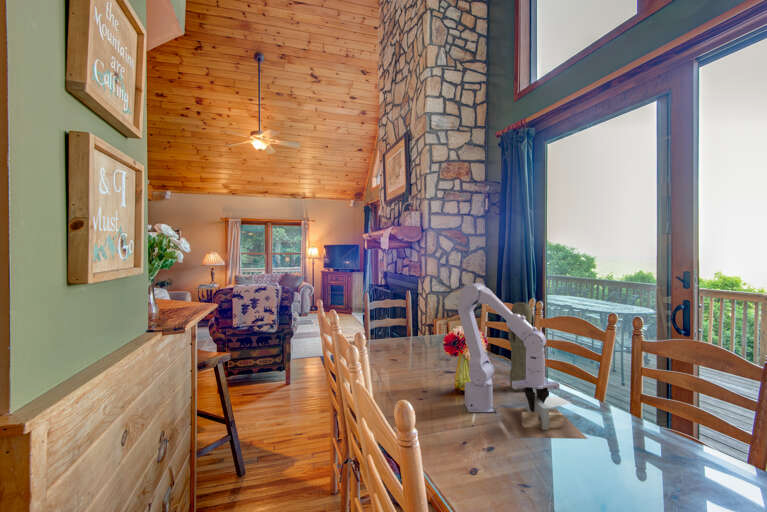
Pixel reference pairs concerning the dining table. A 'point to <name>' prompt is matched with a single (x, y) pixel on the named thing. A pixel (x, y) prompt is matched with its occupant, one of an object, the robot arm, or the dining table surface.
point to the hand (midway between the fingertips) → (535, 410)
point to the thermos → (519, 345)
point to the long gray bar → (539, 411)
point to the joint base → (539, 432)
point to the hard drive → (555, 402)
